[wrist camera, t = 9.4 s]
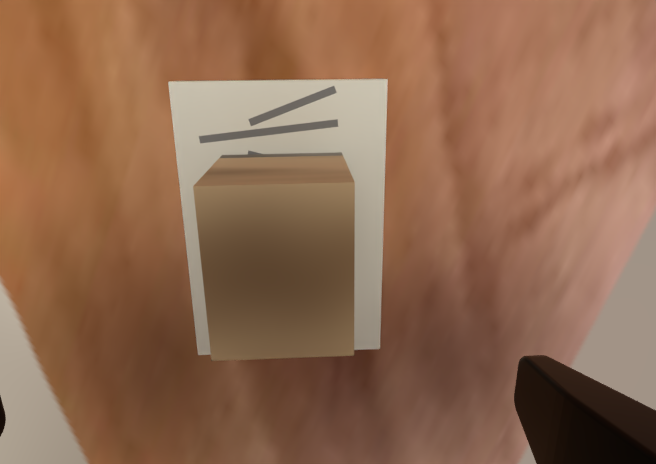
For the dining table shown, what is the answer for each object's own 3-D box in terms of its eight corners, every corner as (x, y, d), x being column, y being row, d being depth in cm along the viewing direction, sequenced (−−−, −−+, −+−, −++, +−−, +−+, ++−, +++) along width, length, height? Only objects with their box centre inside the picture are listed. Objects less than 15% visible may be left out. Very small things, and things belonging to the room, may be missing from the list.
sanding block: (342, 287, 18) (354, 355, 14) (233, 290, 18) (211, 361, 14) (341, 152, 16) (354, 182, 12) (221, 155, 16) (192, 186, 12)
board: (376, 335, 20) (379, 349, 19) (203, 341, 20) (198, 355, 19) (382, 78, 17) (387, 79, 16) (176, 80, 16) (168, 81, 15)
